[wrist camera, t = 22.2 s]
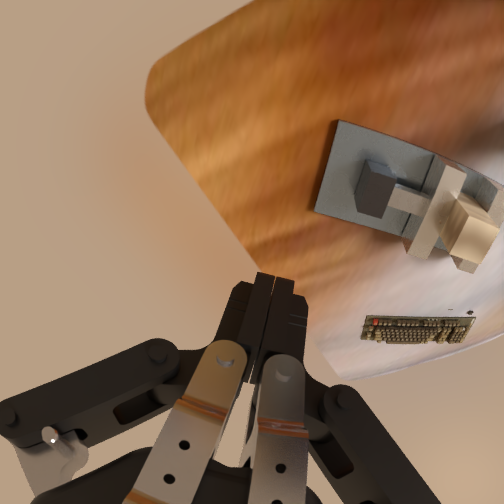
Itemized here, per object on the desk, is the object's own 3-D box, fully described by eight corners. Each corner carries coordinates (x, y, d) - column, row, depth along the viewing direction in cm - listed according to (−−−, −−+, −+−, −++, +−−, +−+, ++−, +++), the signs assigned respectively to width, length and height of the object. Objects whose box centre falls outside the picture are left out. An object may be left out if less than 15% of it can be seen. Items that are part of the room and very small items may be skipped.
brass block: (444, 185, 32) (469, 215, 26) (473, 197, 32) (500, 229, 26) (430, 218, 35) (449, 254, 29) (458, 229, 35) (479, 264, 29)
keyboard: (358, 338, 52) (359, 347, 51) (368, 302, 47) (369, 311, 46) (461, 339, 48) (464, 347, 46) (479, 306, 43) (483, 314, 41)
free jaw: (374, 132, 31) (381, 140, 28) (454, 163, 30) (467, 174, 27) (345, 221, 38) (347, 237, 35) (419, 243, 37) (426, 260, 34)
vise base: (338, 119, 32) (341, 127, 28) (503, 185, 31) (520, 201, 27) (313, 208, 39) (312, 227, 35) (468, 255, 38) (480, 276, 34)
